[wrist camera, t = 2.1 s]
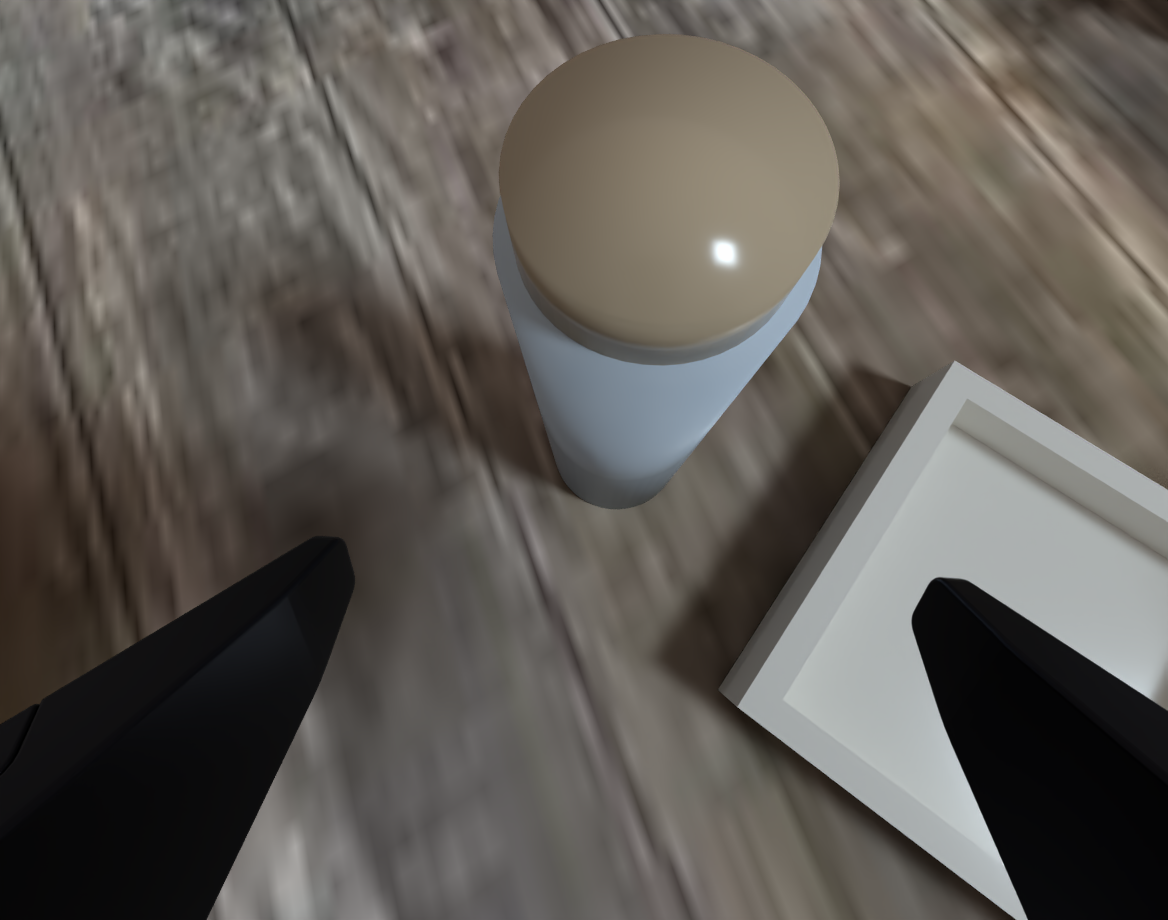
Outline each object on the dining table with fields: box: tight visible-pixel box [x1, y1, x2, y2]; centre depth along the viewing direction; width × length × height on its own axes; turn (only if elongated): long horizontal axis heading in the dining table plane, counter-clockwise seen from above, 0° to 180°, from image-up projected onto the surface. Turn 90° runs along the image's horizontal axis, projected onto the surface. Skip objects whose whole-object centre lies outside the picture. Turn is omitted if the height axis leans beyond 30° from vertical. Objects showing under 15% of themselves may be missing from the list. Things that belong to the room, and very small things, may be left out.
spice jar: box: [493, 34, 840, 509], centre depth 13 cm, size 5×5×14 cm
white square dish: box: [718, 361, 1168, 920], centre depth 17 cm, size 14×14×2 cm
